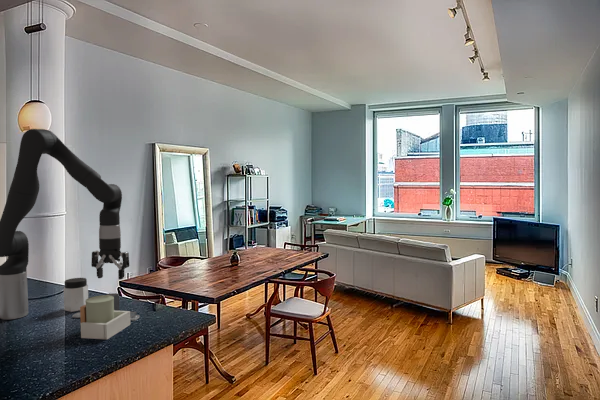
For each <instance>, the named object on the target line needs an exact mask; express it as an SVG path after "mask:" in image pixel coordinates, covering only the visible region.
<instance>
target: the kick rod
mask: <svg viewBox="0 0 600 400" xmlns="http://www.w3.org/2000/svg"><path fill="white" fill-rule="evenodd" d="M106 295H110V296H113V297H114V310H115V311H121V310H120V293H115V292H114V293H111V292H110V293H107V294H106ZM137 312H138V311H130V316H136V315H138V313H137ZM79 313H80V318H79V319H80V324H81V323H82V322H87V321H86V305H84V306H81V307H80V311H79Z"/></svg>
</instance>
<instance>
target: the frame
mask: <svg viewBox="0 0 600 400" xmlns="http://www.w3.org/2000/svg"><path fill="white" fill-rule="evenodd" d="M130 312H131V311H130V310H120V311H115V310H114V319H112V320H111V321H109V322H107V323H88V322H82V323H81V322H80V338H81V339H92V340H93V339H95V340H109V339H110V338H112V337H113V336H115V335H117V334H118V333H120V332H121V331H123V330H124V329H126V328H127V327H129V326H130V325H131V320H130Z"/></svg>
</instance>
